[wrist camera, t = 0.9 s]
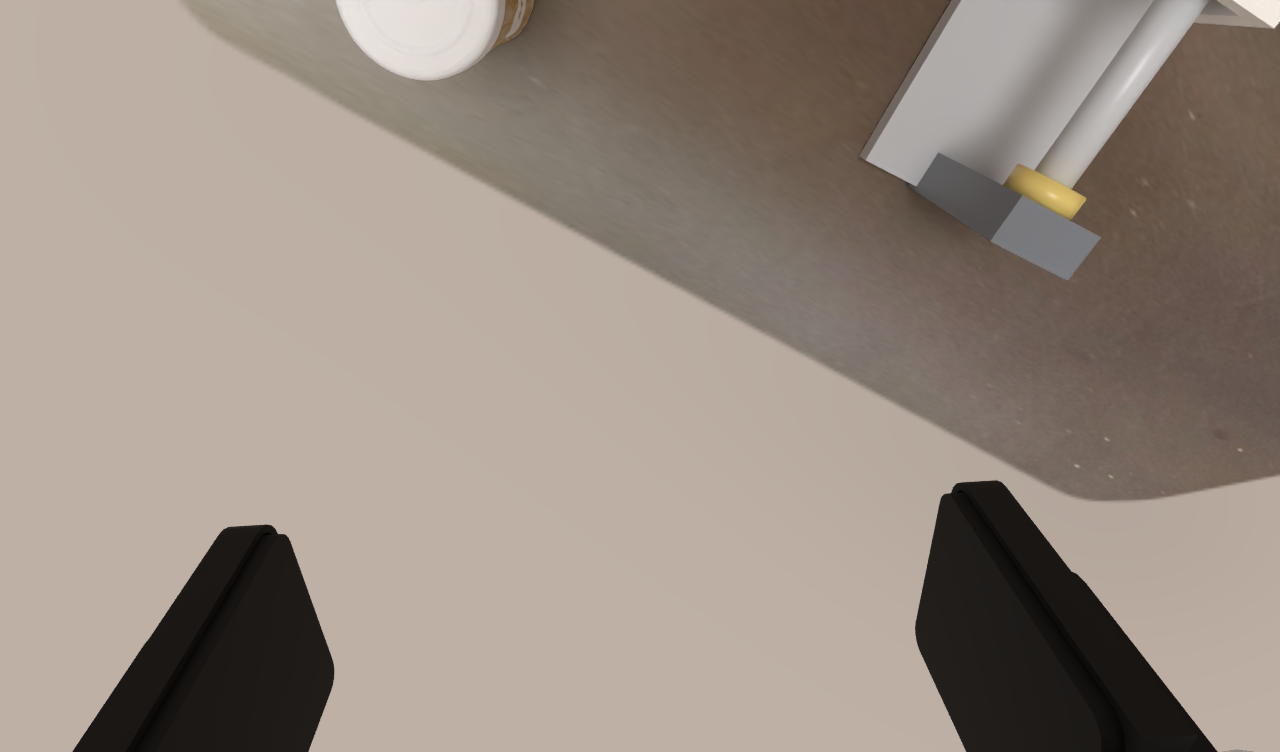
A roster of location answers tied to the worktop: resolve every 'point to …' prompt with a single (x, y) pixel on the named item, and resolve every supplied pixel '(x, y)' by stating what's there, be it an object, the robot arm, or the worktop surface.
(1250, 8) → the square collar block
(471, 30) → the sprinkles bottle
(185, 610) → the robot arm
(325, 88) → the worktop surface
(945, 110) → the slider rail rig
